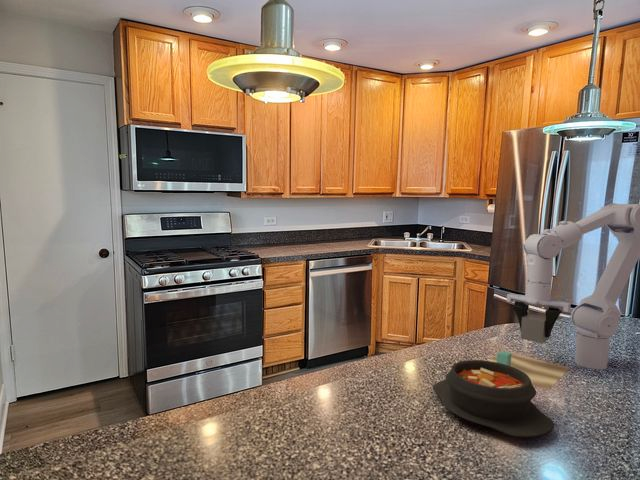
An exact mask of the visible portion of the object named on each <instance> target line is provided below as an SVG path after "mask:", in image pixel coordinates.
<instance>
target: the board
mask: <svg viewBox="0 0 640 480" xmlns="http://www.w3.org/2000/svg"><path fill="white" fill-rule="evenodd" d="M510 353H511V367H514V368H516V369H518V370H520V371H522V372H524V373H525V374H526V375H528V376H529V378H530V379H531V383H532V385H533V386H534V387H539V388H542V389H546V390H550V389H552V387H553V386H554V385H555V384H556V383H558V381H559V380H560V379H561V378H562V377H563V376H564V375H565V374H566V373H567V372H568V371H569V370H570V369H571V367H569V366H564V365H560V364H557V363H552V362H549V361H544V360H541V359H536V358H533V357H529V356H526V355H520V354H517V353H512V352H510ZM487 361H491V362H497V354H496V355H495V356H493V357H491V358H489V359H488V360H487Z"/></svg>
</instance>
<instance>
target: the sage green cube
mask: <svg viewBox="0 0 640 480" xmlns="http://www.w3.org/2000/svg"><path fill="white" fill-rule="evenodd" d="M511 353H512V352H509V351H505V350H500V351H498V352H497V353H496V355H497V363H501V364H505V365H508V366H511Z"/></svg>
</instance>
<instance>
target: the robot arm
mask: <svg viewBox="0 0 640 480" xmlns="http://www.w3.org/2000/svg"><path fill="white" fill-rule="evenodd" d="M605 226H606V227H607V228H608V230H609V232H610V233H611V234H612V235H613V237H615V238H616V240H617V242H618V243H617V245H616V247H615V248H614V251H613V252H612V254H611V257H610V259H609V260H608V263H606V264H607V265H606V266H605V268H604V270H603V272H602V274H601V276H600V278H599V280H598V282H597V284H596V286H595V287H594V289H593V293H592V294H591V295H589V296H588V295H587V296H586V297H584V298H582V299H581V300H580V301H579V303H578V305H577V306H576V307H574V308H573V310H572V311H571V302H566V301H561V300H556V299H552V298H551V296H552V295H551V294H552V279H553V270H554V269H553V266H554V265H553V264H554V258H556V257H557V256H558V254H559V253H560V251H561V250H563V249H566V248H568V247H570V246H572V245H574V244H577V243H579V242H580V241H581V240H582V237H583V235H584V234H588V233H589V232H593V231H595V230H598V229H601V228H602V227H605ZM522 248H523V251H524V253H525V254H526V257H525V258H526V260H527V263H526V264H527V265H526V277H525V278H526V279H525V293H524V294H515V293H508V294H506V302H508V303H513V305H512V309H513V311H514V313H515V315H516V317H517V320H518V323H519V329H520V331H521V325H522V317H523V316H525V315H527V314H529V313H528V312H529V307H530V306H535V307H538V308H539V307H541V308H545V309H546V310H545V311H544V313H545V317H546V328H545V337H547V338H548V337H549V338H550V337H551V334H552V331H553V328H554V325H555V324H556V321H557V320H558V317H559V316H560V315H561V313H562V312H564V313H570V311H571V313H570V320H571V323H572V325H573V326H575V327H574V330H575V331H576V336H575V337H576V339H575V351H574V353H575V354H574V363H575V364H577V365H578V366H580V367H583V368H587V369H592V370H606V369H608V363H609V359H610V356H609V355H610V339H612V338H613V336H614V335H616V333H617V331H618V329H619V323H620V318H621V316H622V312H621V310H620V309H619V308H618V306H617V302H618V300H619V298H620V296H621V294H622V292H623V290H624V288H625V286H626V284H627V283H628V280H629V278H630V276H631V274H632V272H633V271H634V268H635V267H636V265H637V262H638V260H639V258H640V203H635V204H634V203H613V202H612V203H610V204H609V203H608V205H604V206H601V208H600V209H599V210H597V211H595V212H593V213H591V214H589V215H587V216H585V217H583V218H582V219H580V220H578V221H575V222H573V221H569V220H567V221H566V220H561V221H559V222H558V225H556V226H554V227H552V228H550V229H549V228H545V229H544V230H542V232H541V233H540V234H539V233H534V234H530V235H529V236H528V237H527V238H526V239H525V242H524V243H523V244H522Z"/></svg>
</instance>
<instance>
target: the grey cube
mask: <svg viewBox="0 0 640 480" xmlns="http://www.w3.org/2000/svg"><path fill="white" fill-rule="evenodd" d="M545 328H546V315H545V316H544V315H539V314H532V313H527V315H525V316H523V317H522V325H521V330H520V339H521V340H525V341H530V342H534V343H539V344H544V343H546V342H547V341H548V340H550V337H548V338H547V337H545Z"/></svg>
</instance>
